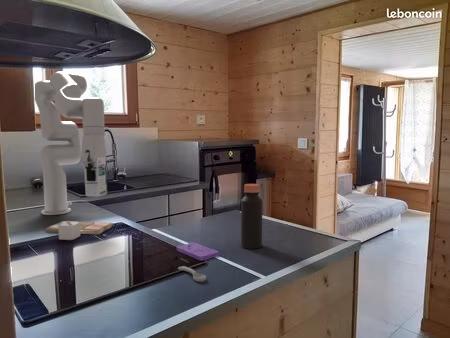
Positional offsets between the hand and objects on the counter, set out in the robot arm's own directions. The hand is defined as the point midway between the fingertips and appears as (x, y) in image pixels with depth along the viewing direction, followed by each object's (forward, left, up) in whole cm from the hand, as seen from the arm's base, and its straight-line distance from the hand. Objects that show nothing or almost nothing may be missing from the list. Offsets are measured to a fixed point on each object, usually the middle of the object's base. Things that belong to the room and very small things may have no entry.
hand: (95, 179), depth 133 cm
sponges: (+21, +44, -20) cm, 52 cm away
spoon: (+38, +46, -20) cm, 63 cm away
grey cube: (+11, -5, -19) cm, 23 cm away
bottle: (+12, +59, -19) cm, 64 cm away
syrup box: (0, 0, -6) cm, 6 cm away
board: (0, -7, -19) cm, 21 cm away
